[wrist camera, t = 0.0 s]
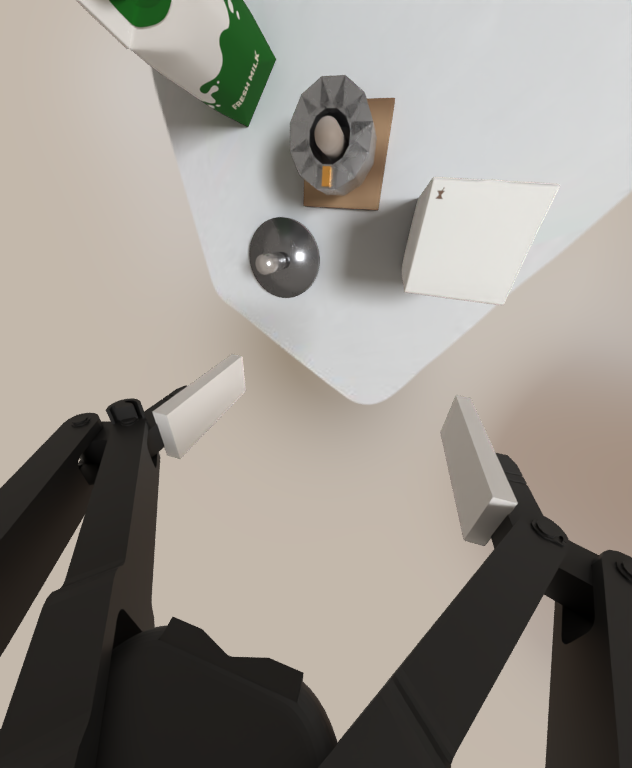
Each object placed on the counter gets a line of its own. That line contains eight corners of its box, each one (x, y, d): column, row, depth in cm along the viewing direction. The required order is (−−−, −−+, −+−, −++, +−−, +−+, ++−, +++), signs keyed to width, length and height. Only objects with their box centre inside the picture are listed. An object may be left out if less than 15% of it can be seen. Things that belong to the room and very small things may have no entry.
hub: (250, 215, 38) (220, 211, 32) (322, 220, 36) (305, 217, 29) (255, 292, 44) (230, 302, 37) (317, 300, 42) (302, 312, 35)
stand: (308, 104, 30) (275, 55, 22) (394, 101, 28) (393, 47, 20) (305, 206, 36) (277, 197, 27) (378, 210, 34) (371, 202, 25)
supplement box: (399, 273, 37) (399, 293, 24) (417, 196, 32) (430, 172, 20) (466, 282, 35) (504, 309, 23) (496, 202, 30) (565, 180, 18)
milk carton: (250, 140, 34) (107, 49, 17) (194, 84, 32) (-20, -73, 16) (287, 55, 29) (138, -184, 12) (223, -14, 28) (-40, -388, 11)
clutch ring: (306, 101, 27) (288, 75, 23) (382, 99, 26) (379, 71, 21) (304, 193, 32) (288, 187, 27) (368, 196, 30) (363, 190, 26)
